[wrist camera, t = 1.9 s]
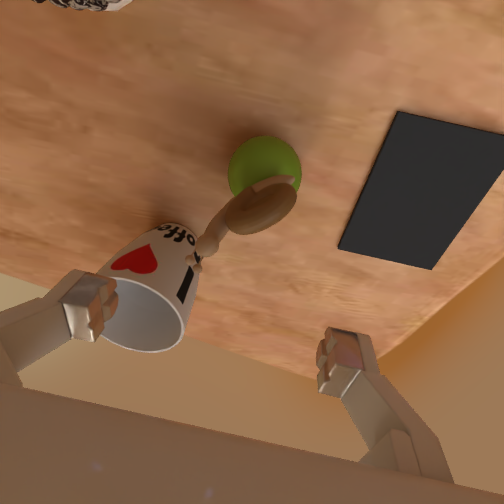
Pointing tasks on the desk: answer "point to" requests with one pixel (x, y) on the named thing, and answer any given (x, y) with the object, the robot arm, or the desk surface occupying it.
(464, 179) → the mat
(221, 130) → the desk surface
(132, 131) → the desk surface
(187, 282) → the cup
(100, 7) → the black-white patterned cylinder
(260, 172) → the snail figurine
